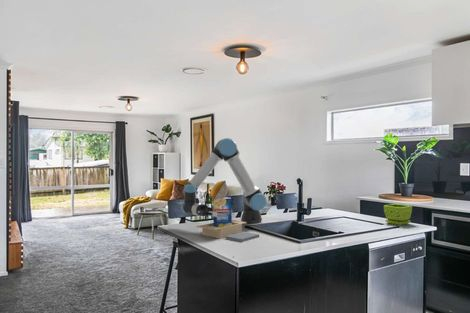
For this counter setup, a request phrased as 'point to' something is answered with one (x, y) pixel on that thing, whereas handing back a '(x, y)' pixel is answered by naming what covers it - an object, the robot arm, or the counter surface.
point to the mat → (242, 236)
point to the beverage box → (222, 211)
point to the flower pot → (398, 214)
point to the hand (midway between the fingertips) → (224, 213)
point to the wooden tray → (222, 229)
